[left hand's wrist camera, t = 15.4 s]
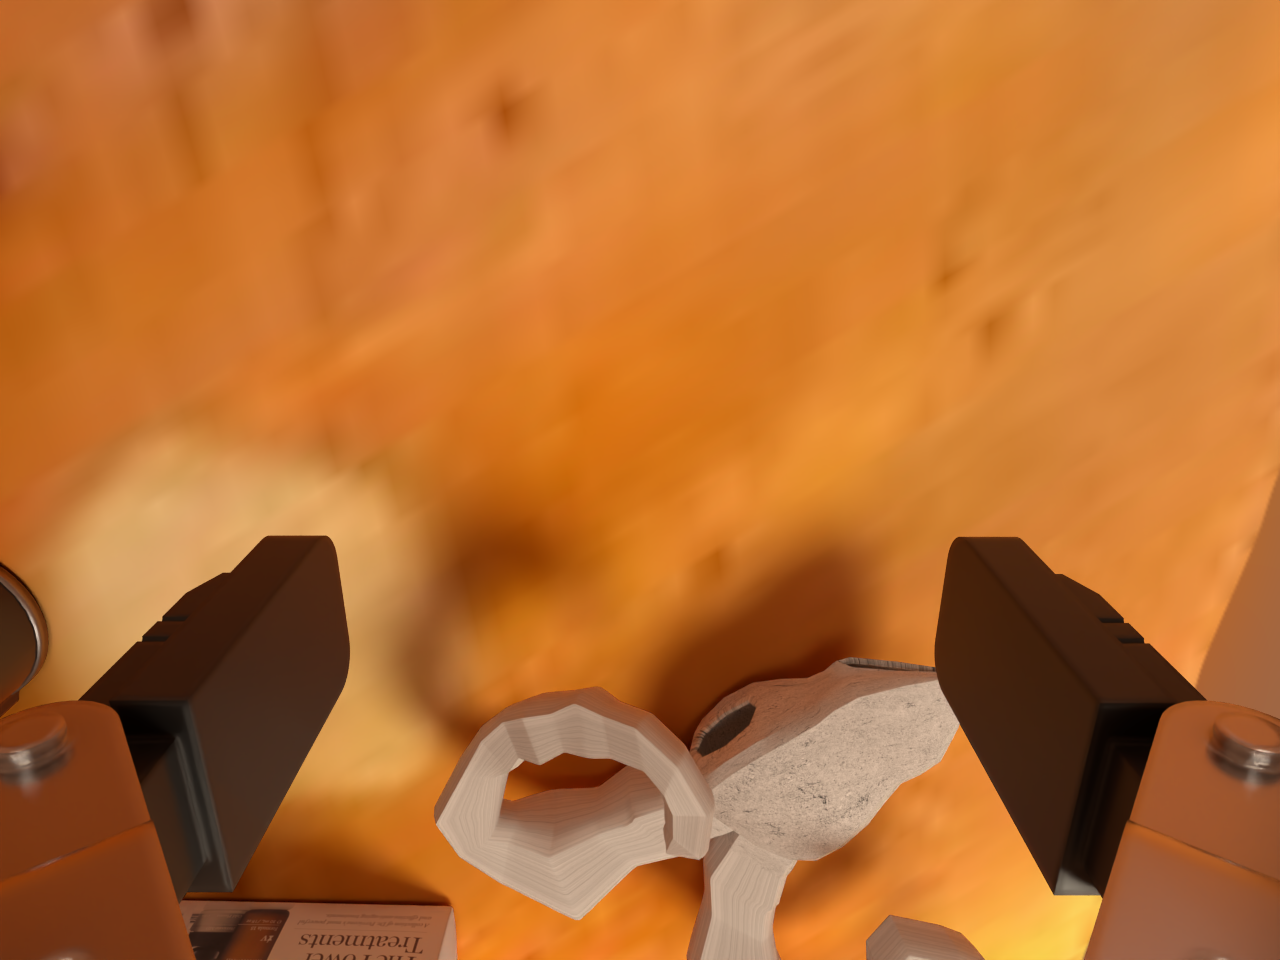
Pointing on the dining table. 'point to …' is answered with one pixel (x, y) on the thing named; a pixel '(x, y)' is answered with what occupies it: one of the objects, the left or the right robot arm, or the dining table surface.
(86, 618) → the dining table surface
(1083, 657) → the left robot arm
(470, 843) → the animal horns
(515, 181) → the dining table surface
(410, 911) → the skincare box
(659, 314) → the dining table surface
